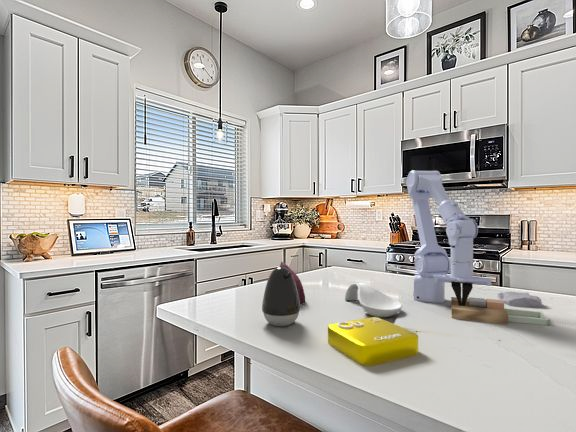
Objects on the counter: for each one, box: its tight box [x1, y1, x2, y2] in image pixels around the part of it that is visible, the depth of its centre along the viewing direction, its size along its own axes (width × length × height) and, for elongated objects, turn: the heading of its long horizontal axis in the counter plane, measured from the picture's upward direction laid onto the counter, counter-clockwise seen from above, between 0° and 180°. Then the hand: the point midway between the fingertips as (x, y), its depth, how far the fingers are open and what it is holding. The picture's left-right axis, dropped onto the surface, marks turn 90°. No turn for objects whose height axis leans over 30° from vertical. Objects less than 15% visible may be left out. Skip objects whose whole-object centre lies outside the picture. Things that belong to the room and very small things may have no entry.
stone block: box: [497, 291, 543, 309], centre depth 110 cm, size 12×5×10 cm
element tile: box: [327, 316, 419, 366], centre depth 77 cm, size 15×15×5 cm
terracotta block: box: [485, 298, 505, 310], centre depth 96 cm, size 4×4×4 cm
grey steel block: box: [468, 296, 486, 308], centre depth 98 cm, size 4×4×4 cm
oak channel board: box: [450, 296, 509, 325], centre depth 98 cm, size 13×14×4 cm
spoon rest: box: [344, 282, 403, 318], centre depth 107 cm, size 24×12×7 cm, turn 19°
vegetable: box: [279, 261, 306, 305], centre depth 115 cm, size 10×10×15 cm
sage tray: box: [504, 307, 551, 327], centre depth 93 cm, size 9×8×2 cm
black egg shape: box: [261, 266, 301, 327], centre depth 93 cm, size 10×10×15 cm
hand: (461, 308), depth 99 cm, fingers closed
